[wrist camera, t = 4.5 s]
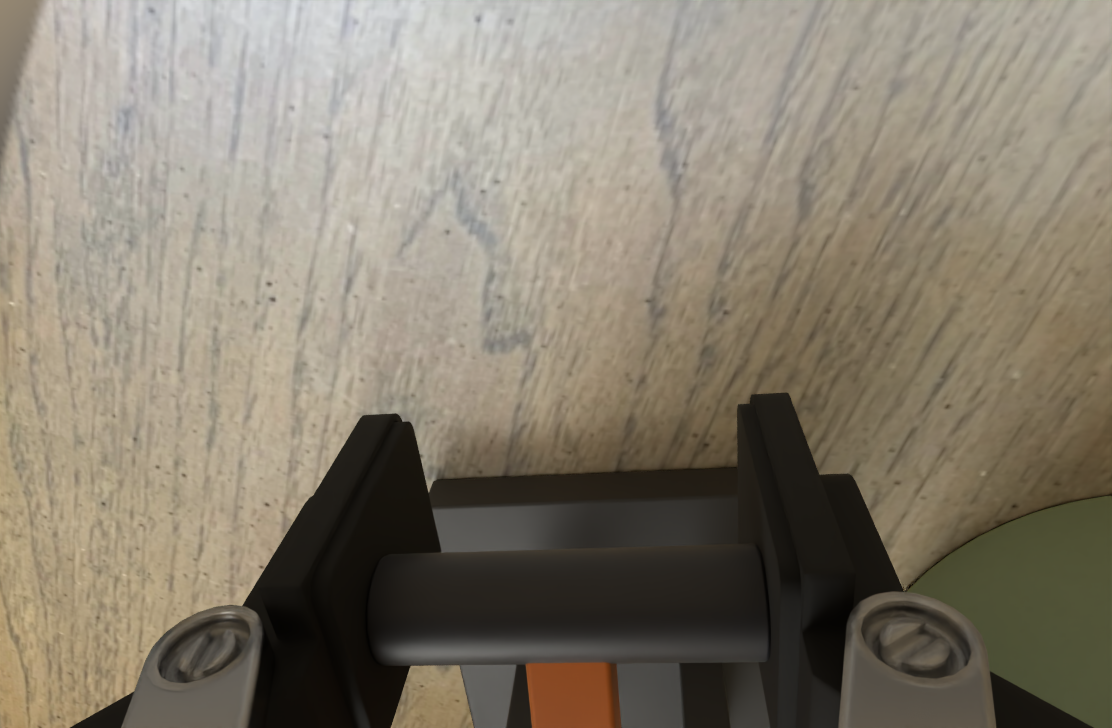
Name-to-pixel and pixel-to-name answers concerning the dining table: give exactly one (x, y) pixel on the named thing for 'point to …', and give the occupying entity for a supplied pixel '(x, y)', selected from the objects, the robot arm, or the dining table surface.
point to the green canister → (1041, 603)
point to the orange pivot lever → (571, 616)
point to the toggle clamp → (605, 522)
